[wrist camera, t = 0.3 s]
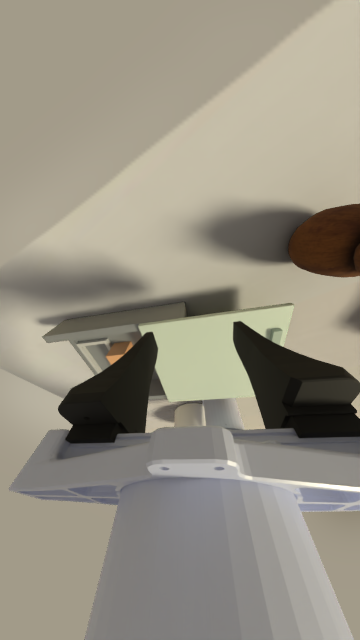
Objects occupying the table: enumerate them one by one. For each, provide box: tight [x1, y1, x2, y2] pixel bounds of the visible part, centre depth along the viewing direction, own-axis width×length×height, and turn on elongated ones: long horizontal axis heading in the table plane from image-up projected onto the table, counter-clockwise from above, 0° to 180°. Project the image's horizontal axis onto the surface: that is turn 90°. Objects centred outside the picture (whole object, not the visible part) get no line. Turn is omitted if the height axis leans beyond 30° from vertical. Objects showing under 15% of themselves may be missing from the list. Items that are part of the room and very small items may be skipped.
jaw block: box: [106, 341, 133, 365], centre depth 26 cm, size 7×3×3 cm, turn 10°
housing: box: [42, 302, 187, 400], centre depth 26 cm, size 18×21×5 cm
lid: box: [138, 303, 294, 402], centre depth 22 cm, size 18×18×1 cm
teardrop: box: [174, 403, 206, 427], centre depth 35 cm, size 11×11×12 cm
